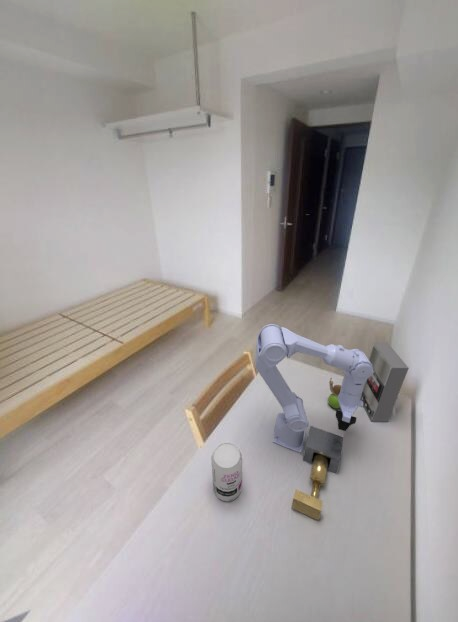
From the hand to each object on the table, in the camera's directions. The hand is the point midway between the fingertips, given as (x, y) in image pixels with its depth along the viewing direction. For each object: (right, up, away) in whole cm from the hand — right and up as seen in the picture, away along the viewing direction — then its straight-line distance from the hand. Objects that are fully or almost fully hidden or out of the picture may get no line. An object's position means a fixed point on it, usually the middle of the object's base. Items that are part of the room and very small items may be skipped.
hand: (342, 419), depth 85 cm
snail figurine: (+4, -2, +18) cm, 18 cm away
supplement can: (-37, -16, -8) cm, 41 cm away
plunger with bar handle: (-13, -16, -8) cm, 22 cm away
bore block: (-7, -11, 0) cm, 13 cm away
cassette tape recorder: (+18, -2, +17) cm, 25 cm away
